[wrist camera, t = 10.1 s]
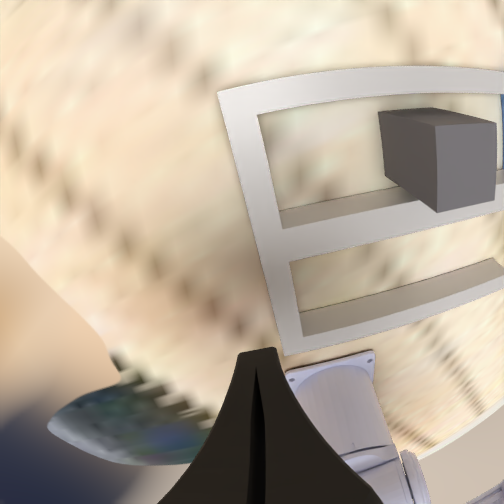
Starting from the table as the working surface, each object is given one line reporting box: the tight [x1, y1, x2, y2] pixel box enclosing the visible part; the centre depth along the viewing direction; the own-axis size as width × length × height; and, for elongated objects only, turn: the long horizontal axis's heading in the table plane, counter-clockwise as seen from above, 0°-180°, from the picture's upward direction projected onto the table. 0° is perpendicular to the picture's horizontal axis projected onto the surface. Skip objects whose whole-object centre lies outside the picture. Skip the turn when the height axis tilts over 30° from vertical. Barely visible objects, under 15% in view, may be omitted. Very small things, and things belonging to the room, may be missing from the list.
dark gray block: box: [378, 108, 497, 213], centre depth 14 cm, size 4×4×6 cm
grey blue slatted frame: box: [217, 66, 504, 356], centre depth 16 cm, size 17×21×4 cm
